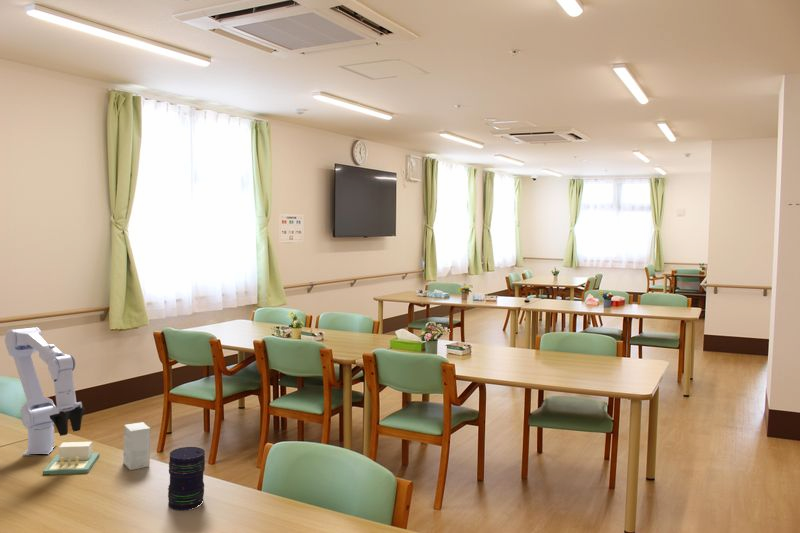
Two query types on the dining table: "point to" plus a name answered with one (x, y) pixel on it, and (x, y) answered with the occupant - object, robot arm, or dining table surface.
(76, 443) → the block
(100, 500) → the dining table surface
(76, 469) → the board
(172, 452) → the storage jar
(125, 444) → the small box
